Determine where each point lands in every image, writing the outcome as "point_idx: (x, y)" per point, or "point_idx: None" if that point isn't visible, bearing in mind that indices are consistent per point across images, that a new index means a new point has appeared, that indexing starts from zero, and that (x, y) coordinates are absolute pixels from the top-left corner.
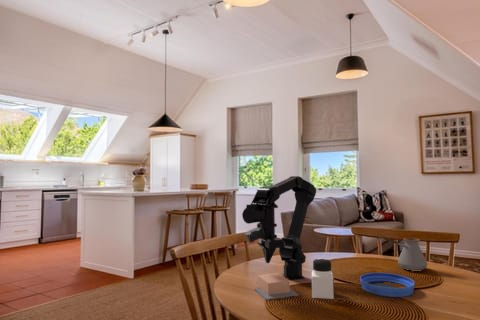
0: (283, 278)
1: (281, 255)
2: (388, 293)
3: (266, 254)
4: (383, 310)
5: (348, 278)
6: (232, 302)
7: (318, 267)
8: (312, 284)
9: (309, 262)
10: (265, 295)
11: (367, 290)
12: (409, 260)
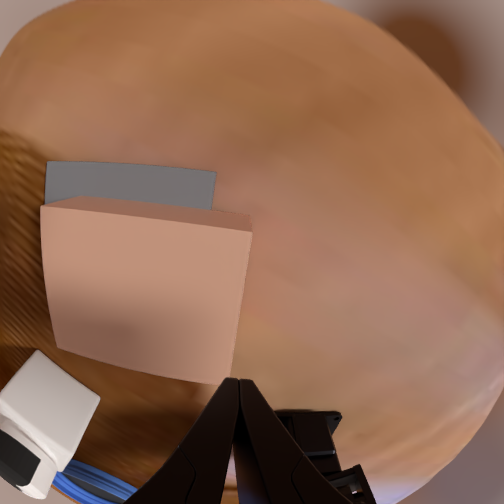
0: (99, 350)
1: (344, 491)
2: None
3: (171, 457)
4: None
5: None
6: (111, 6)
7: None
8: (12, 378)
9: (378, 483)
10: (82, 178)
11: (82, 464)
12: None
